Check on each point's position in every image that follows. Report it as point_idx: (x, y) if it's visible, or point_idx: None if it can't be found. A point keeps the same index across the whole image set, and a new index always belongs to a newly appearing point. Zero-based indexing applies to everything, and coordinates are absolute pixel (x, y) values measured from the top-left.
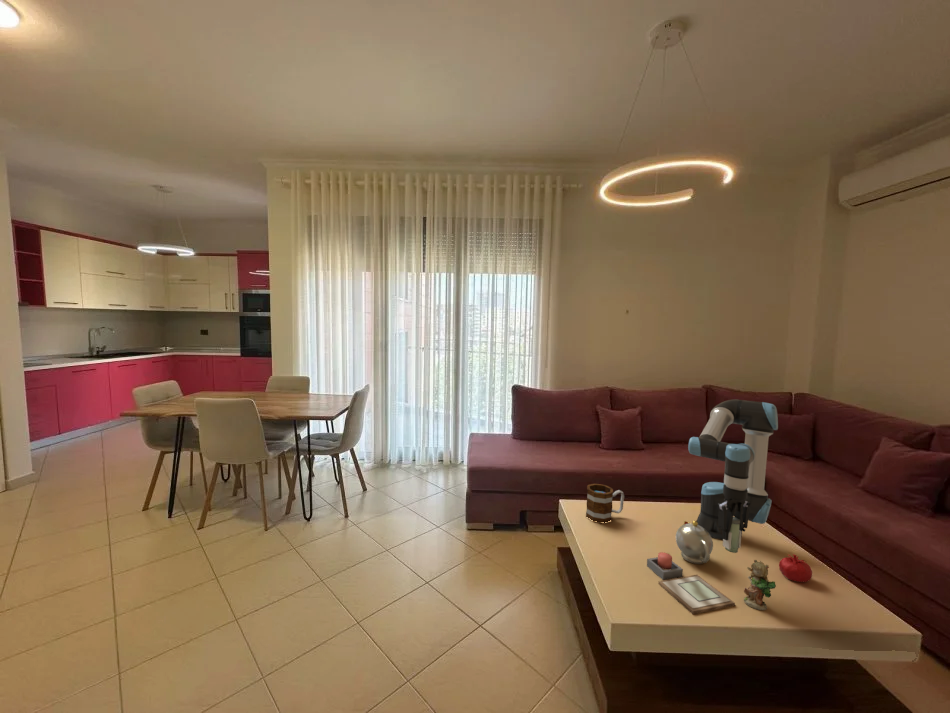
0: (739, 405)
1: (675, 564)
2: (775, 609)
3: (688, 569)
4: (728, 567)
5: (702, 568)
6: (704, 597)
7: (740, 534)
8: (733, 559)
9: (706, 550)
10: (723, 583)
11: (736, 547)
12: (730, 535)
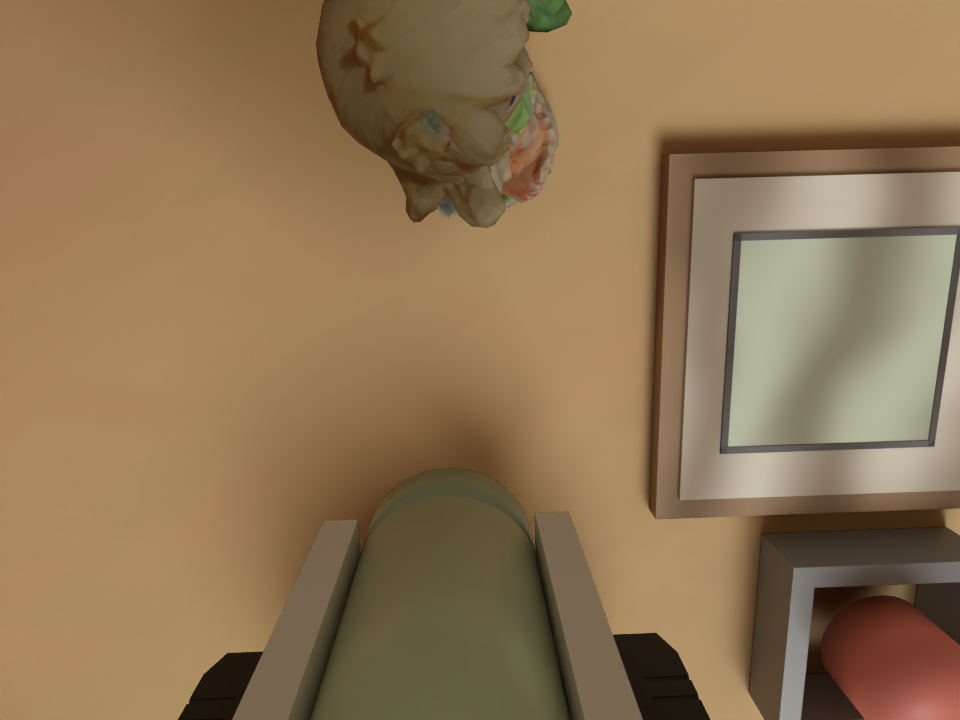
0: None
1: (797, 632)
2: None
3: (633, 598)
4: (274, 563)
5: None
6: (871, 259)
7: (269, 699)
8: (135, 642)
9: None
10: (502, 403)
11: (446, 506)
12: (619, 694)
